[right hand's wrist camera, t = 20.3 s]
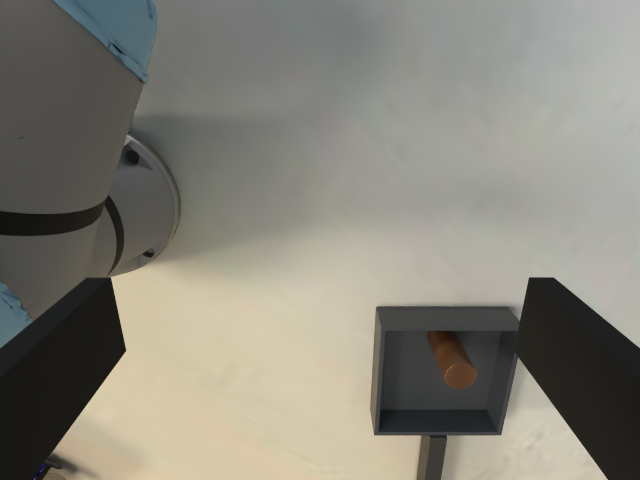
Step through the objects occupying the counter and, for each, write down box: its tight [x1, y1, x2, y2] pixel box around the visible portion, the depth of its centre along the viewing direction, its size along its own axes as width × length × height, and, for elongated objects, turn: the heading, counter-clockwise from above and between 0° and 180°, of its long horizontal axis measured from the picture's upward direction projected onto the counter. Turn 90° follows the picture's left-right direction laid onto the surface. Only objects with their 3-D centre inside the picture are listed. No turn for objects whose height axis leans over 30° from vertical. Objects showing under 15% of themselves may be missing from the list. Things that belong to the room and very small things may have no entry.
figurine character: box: [32, 460, 65, 480], centre depth 50 cm, size 7×8×15 cm
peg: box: [427, 331, 477, 389], centre depth 43 cm, size 3×3×7 cm
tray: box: [370, 307, 520, 480], centre depth 49 cm, size 29×15×4 cm, turn 0°
